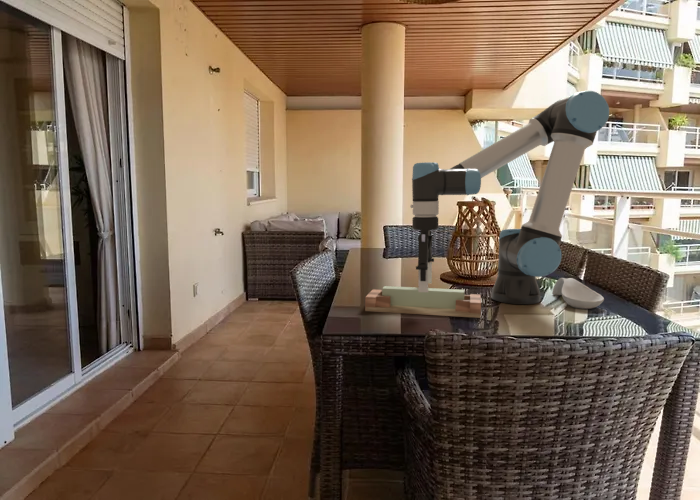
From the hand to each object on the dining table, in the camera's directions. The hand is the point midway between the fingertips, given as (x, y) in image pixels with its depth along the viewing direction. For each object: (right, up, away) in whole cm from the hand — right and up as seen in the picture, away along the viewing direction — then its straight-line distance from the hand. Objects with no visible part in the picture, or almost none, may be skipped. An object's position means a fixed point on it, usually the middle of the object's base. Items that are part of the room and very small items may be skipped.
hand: (425, 287), depth 153 cm
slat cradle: (0, -7, +1) cm, 7 cm away
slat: (-1, -5, +1) cm, 6 cm away
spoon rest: (+49, -6, +11) cm, 50 cm away
